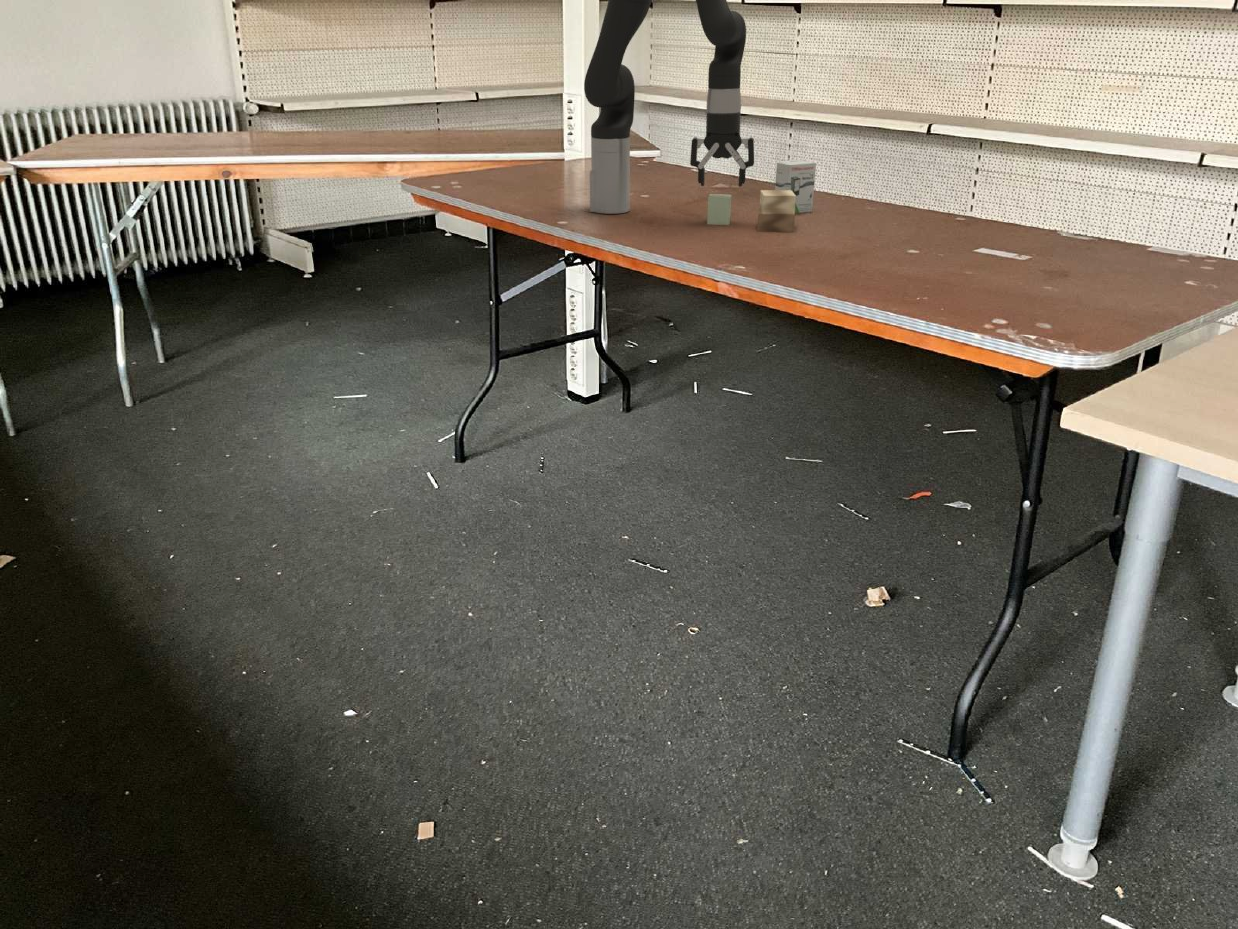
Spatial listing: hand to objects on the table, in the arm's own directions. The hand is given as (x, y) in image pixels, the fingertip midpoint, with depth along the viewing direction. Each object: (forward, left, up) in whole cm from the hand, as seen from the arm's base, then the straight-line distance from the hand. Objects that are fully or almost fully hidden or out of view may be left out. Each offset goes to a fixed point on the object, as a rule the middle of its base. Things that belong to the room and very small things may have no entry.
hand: (721, 185), depth 221 cm
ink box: (+17, +16, -9) cm, 25 cm away
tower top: (+13, -4, -5) cm, 14 cm away
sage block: (0, 0, -8) cm, 8 cm away
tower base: (+13, -4, -9) cm, 16 cm away
